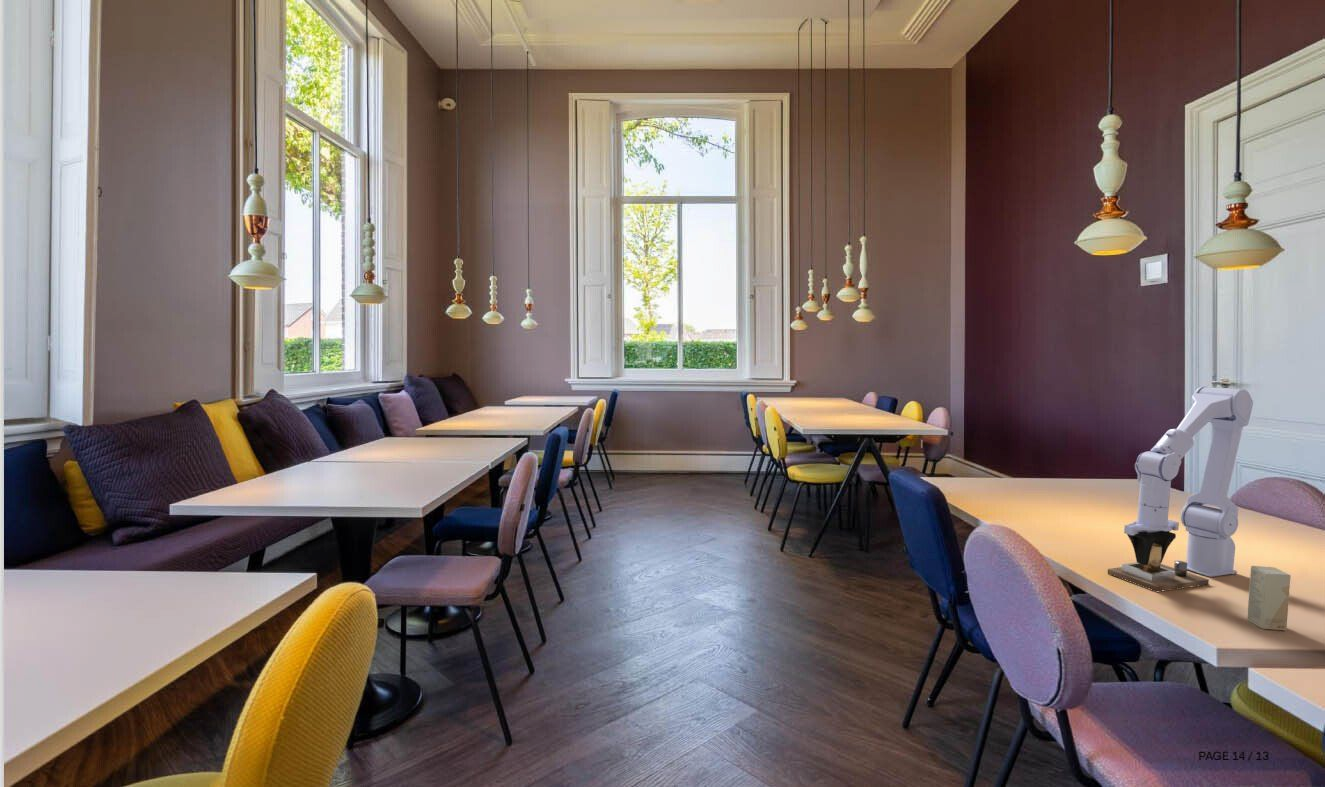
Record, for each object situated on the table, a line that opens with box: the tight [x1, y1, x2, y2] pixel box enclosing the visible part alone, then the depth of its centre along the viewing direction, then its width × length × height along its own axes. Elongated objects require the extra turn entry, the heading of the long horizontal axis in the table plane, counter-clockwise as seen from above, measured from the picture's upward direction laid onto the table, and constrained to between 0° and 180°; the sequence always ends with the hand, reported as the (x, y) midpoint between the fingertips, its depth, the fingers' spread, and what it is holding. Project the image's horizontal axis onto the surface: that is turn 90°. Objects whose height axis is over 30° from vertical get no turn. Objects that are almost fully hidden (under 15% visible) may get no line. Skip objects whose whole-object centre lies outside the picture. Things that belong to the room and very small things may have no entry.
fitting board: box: [1107, 560, 1209, 592], centre depth 164 cm, size 16×12×4 cm
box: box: [1246, 565, 1292, 631], centre depth 138 cm, size 5×4×11 cm
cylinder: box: [1139, 543, 1162, 573], centre depth 162 cm, size 4×4×6 cm
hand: (1148, 562), depth 162 cm, fingers closed on cylinder, 4 cm apart
